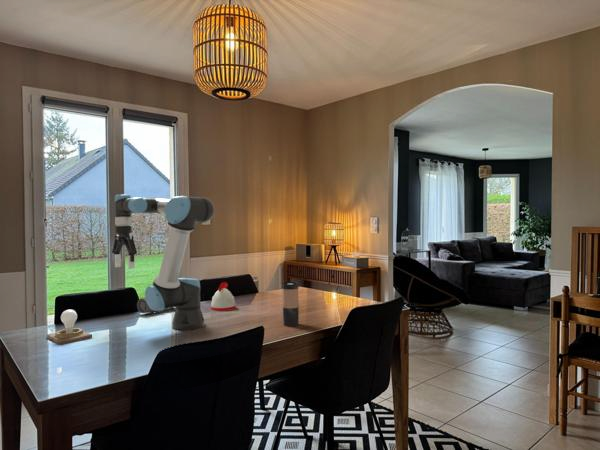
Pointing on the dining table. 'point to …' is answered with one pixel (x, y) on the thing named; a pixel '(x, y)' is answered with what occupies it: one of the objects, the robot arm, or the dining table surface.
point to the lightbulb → (69, 319)
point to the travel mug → (290, 304)
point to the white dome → (223, 299)
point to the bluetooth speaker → (145, 306)
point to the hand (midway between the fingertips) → (124, 267)
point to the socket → (69, 336)
